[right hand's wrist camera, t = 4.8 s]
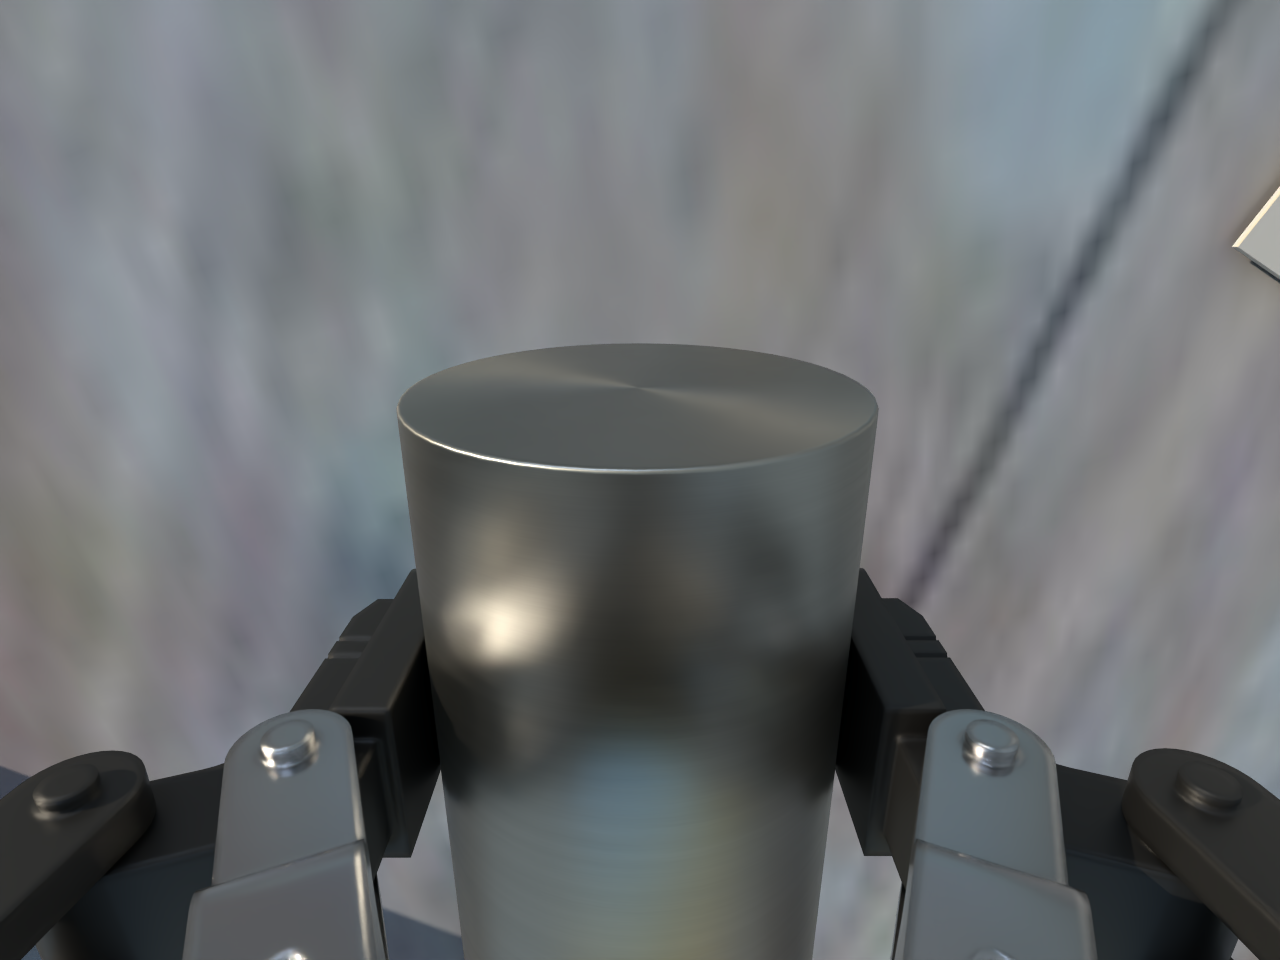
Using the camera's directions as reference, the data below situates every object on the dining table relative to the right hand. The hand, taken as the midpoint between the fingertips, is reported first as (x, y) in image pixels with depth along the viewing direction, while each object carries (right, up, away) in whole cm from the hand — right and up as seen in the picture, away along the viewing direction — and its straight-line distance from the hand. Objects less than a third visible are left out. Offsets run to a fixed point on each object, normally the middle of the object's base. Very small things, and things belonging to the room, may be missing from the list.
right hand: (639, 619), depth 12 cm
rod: (0, -8, +5) cm, 10 cm away
